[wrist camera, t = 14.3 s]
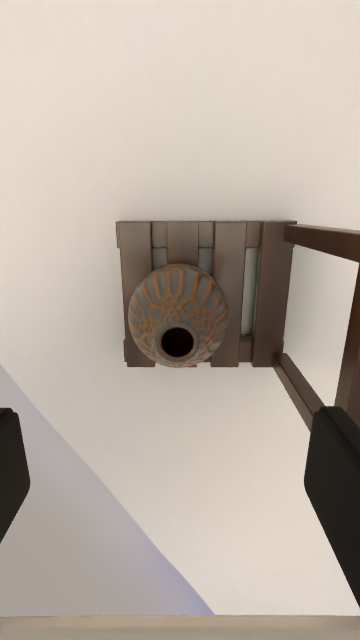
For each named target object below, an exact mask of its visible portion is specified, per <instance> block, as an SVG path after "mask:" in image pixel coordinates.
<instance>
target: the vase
mask: <svg viewBox="0 0 360 640" xmlns="http://www.w3.org/2000/svg"><path fill="white" fill-rule="evenodd" d="M128 322H129V327H130V331H131V334H132V337H133V339H134V341H135V343H136V344H137V346H138V347H139V349H140V350H141V351H142V352H143V353H144V354H145V355H146V356H147V357H149V358H150V359H151V360H153V361H155V362H157V363H159V364H161V365H164V366H168V367H175V368H182V367H189V366H193V365H196V364H198V363H200V362H202V361H204V360H206V359H207V358H208V357H210V356H211V355H212V354H213V353H214V352H215V351H216V350H217V349H218V347H219V346H220V344H221V343H222V341H223V339H224V337H225V335H226V332H227V328H228V324H229V307H228V303H227V299H226V297H225V294H224V292H223V290H222V288H221V287H220V285H219V284H218V282H217V281H216V280H215V279H214V278H213V277H212V276H211V275H209V274H208V273H207V272H205V271H204V270H202V269H200V268H198V267H196V266H192V265H188V264H169V265H165V266H162V267H160V268H157V269H155V270H154V271H152V272H151V273H149V274H148V275H147V276H146V277H144V278H143V280H142V281H141V282H140V283H139V284H138V286H137V287H136V289H135V291H134V293H133V295H132V297H131V300H130V303H129V309H128Z"/></svg>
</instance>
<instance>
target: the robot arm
mask: <svg viewBox="0 0 360 640" xmlns="http://www.w3.org/2000/svg"><path fill="white" fill-rule="evenodd" d="M304 486H305V490H306V493H307V495H308V497H309V499H310V501H311V504H312V506H313V508H314V510H315V512H316V514H317V517H318V519H319V521H320V523H321V525H322V527H323V529H324V532H325V534H326V536H327V538H328V540H329V542H330V545H331V547H332V549H333V551H334V553H335V555H336V558H337V560H338V562H339V564H340V566H341V568H342V571H343V573H344V575H345V577H346V579H347V581H348V583H349V586H350V588H351V590H352V592H353V594H354V596H355V599H356V601H357V603H358V605H359V607H360V428H359V427H358V426H357V425H356V423H355V422H354V421H353V420H352V419H351V418H350V416H349V415H348V414H347V413H346V412H345V411H344V409H343V408H342V407H339V406H322V407H320V409H319V411H315V412H314V414H313V420H312V427H311V434H310V441H309V448H308V455H307V462H306V469H305V476H304ZM29 488H30V476H29V471H28V466H27V460H26V455H25V449H24V444H23V438H22V433H21V427H20V422H19V417H18V414H17V413H15V412H13V410H12V409H11V408H0V543H1V541H2V539H3V537H4V536H5V534H6V532H7V530H8V528H9V527H10V525H11V523H12V521H13V519H14V517H15V516H16V513H17V512H18V510H19V508H20V506H21V505H22V503H23V501H24V499H25V497H26V495H27V493H28V491H29ZM0 640H360V616H333V615H167V616H165V615H164V616H163V615H161V616H160V615H159V616H158V615H156V616H155V615H148V616H37V617H35V616H33V617H0Z"/></svg>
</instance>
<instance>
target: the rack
mask: <svg viewBox="0 0 360 640" xmlns="http://www.w3.org/2000/svg"><path fill="white" fill-rule="evenodd" d="M116 235H117V248H120V256H121V273H122V289H123V305H124V321H125V339H124V341H123V344H124V359H125V362H127V367H155V364H156V362H155V361H153V360H151V359H150V358H149V357H147V356H146V355H145V354H144V353H143V352H142V351H141V350H140V349H139V347H138V346H137V344H136V343H135V341H134V339H133V337H132V334H131V331H130V327H129V322H128V309H129V303H130V300H131V297H132V295H133V293H134V291H135V289H136V287H137V286H138V284H139V283H140V282H141V281H142V280H143V278H144V277H146V276H147V275H148V274H149V273H151V272H152V271H153V251H152V248H167V265H169V264H188V265H192V266H196V267H198V249H199V248H213V273H212V277H213V278H214V279H215V280H216V281H217V282H218V284H219V285H220V287H221V288H222V290H223V292H224V294H225V297H226V299H227V303H228V307H229V324H228V328H227V332H226V335H225V337H224V339H223V341H222V343H221V344H220V346H219V347H218V349H217V350H216V351H215V352H214V353H213V354H212V355H211V356H210V357H208V358H207V359H206V360H204V361H202V362H210V366H211V367H238V365H239V362H251V364H252V367H273V368H274V370H275V372H276V374H277V375H278V377H279V379H280V380H281V382H282V384H283V386H284V387H285V389H286V391H287V393H288V394H289V396H290V398H291V400H292V401H293V403H294V405H295V407H296V408H297V410H298V412H299V413H300V415H301V417H302V419H303V420H304V422H305V424H306V426H307V427H308V429H309V431H310V433H311V427H312V420H313V414H314V412H315V411H319V409H320V407H322V406H325V405H324V404H323V402H322V401H321V399H320V398H319V397H318V395H317V394H316V393H315V391H314V390H313V389H312V387H311V386H310V384H309V383H308V382H307V380H306V379H305V378H304V376H303V375H302V373H301V372H300V371H299V369H298V368H297V367H296V365H295V364H294V363H293V361H292V360H291V358H290V357H289V356H288V354H287V353H283V345H284V341H283V337H284V328H285V319H286V309H287V300H288V291H289V282H290V272H291V263H292V254H293V248H294V244H296V245H300V246H303V247H307V248H310V249H314V250H317V251H321V252H324V253H328V254H331V255H335V256H338V257H342V258H345V259H348V260H352V261H355V262H359V268H358V274H357V280H356V285H355V291H354V297H353V302H352V308H351V314H350V319H349V325H348V331H347V336H346V342H345V348H344V353H343V359H342V365H341V370H340V376H339V382H338V388H337V393H336V399H335V405H334V406H339V407H342V408H343V409H344V411H345V412H346V413H347V414H348V415H349V416H350V418H351V419H352V420H353V421H354V422H355V423H356V425H357V426H358V427H359V428H360V231H357V230H348V229H339V228H329V227H320V226H311V225H301V224H297V221H118V222H116ZM246 248H259V255H258V268H257V282H256V295H255V308H254V322H253V335H252V336H240V333H241V317H242V301H243V285H244V268H245V252H246ZM189 367H197V364H196V365H193V366H189Z"/></svg>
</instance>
